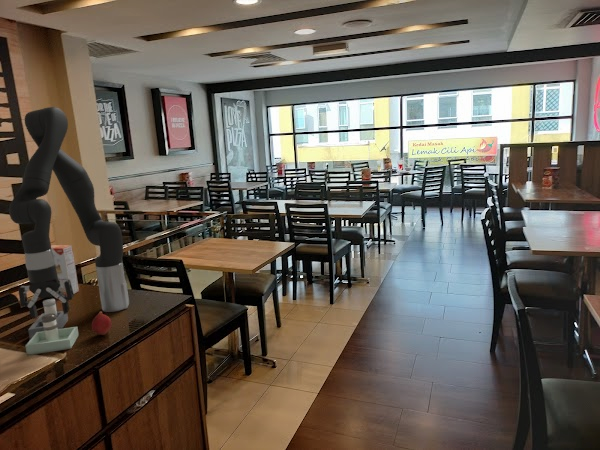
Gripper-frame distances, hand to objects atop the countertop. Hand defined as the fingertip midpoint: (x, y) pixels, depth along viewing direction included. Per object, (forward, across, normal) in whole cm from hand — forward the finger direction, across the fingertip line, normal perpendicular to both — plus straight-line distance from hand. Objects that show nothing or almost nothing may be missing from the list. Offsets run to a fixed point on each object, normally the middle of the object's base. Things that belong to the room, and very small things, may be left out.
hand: (50, 315), depth 135 cm
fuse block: (+10, +5, -14) cm, 18 cm away
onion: (+10, -13, -2) cm, 17 cm away
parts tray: (+10, +1, 0) cm, 10 cm away
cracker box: (+10, +12, -54) cm, 56 cm away
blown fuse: (+9, +1, 0) cm, 9 cm away
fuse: (+10, +5, -18) cm, 21 cm away
